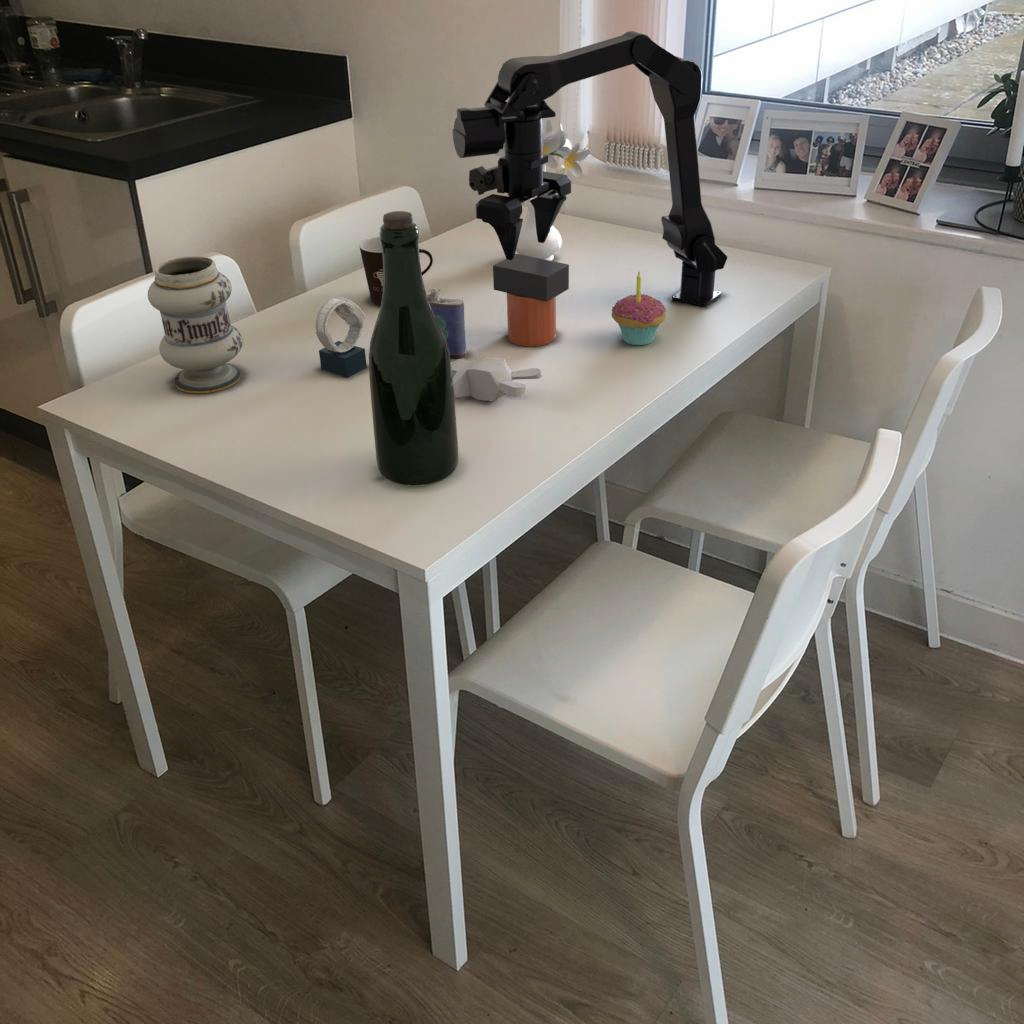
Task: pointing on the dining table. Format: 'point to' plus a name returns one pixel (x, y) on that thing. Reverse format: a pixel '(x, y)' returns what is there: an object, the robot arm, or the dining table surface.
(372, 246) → the coffee mug
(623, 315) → the cupcake
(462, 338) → the flask
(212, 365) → the apothecary jar
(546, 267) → the black bar
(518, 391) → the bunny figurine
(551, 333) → the terracotta cup
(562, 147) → the flower vase
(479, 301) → the dining table surface
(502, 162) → the robot arm
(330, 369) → the watch
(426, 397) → the green wine bottle
